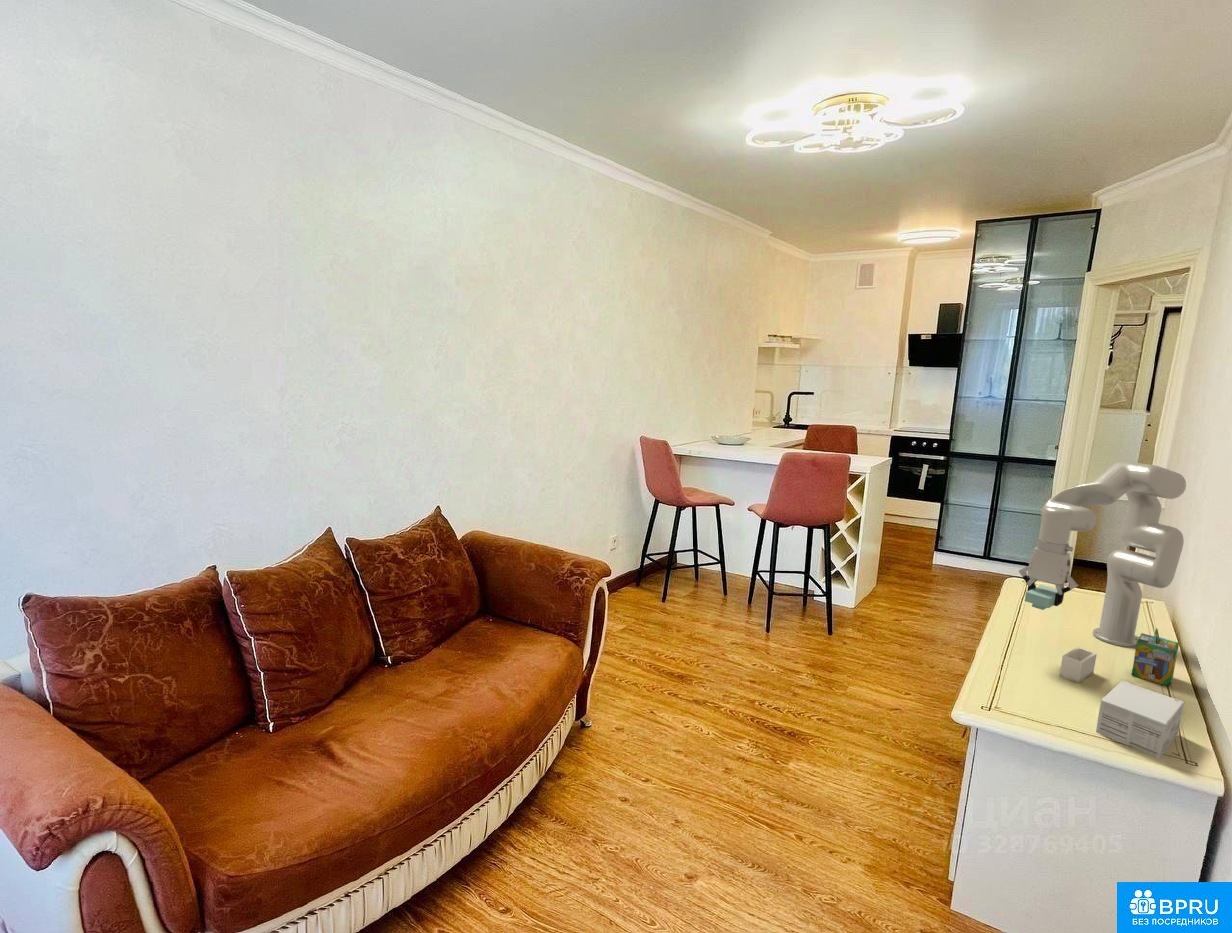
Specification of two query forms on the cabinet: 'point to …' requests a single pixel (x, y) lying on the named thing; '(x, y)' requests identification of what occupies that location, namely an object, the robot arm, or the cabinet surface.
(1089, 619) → the cabinet surface
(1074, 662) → the box
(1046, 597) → the lid
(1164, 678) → the chalk box
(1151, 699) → the supplement box
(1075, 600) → the cabinet surface
